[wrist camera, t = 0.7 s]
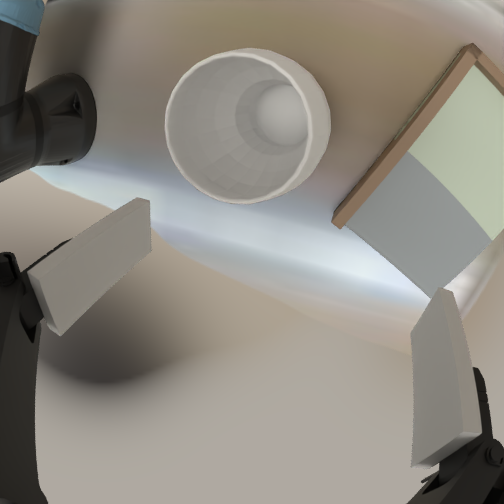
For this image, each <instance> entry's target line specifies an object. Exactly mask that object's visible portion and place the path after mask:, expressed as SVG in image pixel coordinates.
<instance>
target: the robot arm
mask: <svg viewBox="0 0 504 504" xmlns="http://www.w3.org/2000/svg"><path fill="white" fill-rule="evenodd" d="M43 13H44V3H43V1H42V0H0V183H1V182H3V181H5V180H7V179H9V178H11V177H13V176H15V175H17V174H19V173H21V172H23V171H25V170H28V169H30V168H32V167H35V166H44V165H67V164H70V163H73V162H75V161H78V160H80V159H81V158H82V157H84V156H85V154H86V153H87V152H88V150H89V148H90V146H91V144H92V141H93V138H94V134H95V128H96V109H95V103H94V99H93V96H92V93H91V90H90V88H89V86H88V85H87V83H86V82H85V81H84V80H83V79H82V78H81V77H80V76H78V75H76V74H72V73H68V74H61V75H56V76H53V77H52V78H50V79H48V80H46V81H44V82H43V83H41V84H39V85H37V86H36V87H34V88H32V89H31V90H29V91H27V92H25V87H26V81H27V76H28V71H29V67H30V62H31V58H32V54H33V50H34V46H35V42H36V38H37V36H39V33H40V32H39V28H40V24H41V20H42V16H43ZM151 251H152V250H151V228H150V201H149V200H145V199H141V198H135V199H134V200H132V201H130V202H129V203H127V204H125V205H124V206H122V207H120V208H119V209H117V210H116V211H114V212H112V213H111V214H109V215H108V216H106V217H105V218H103V219H101V220H100V221H98V222H97V223H95V224H94V225H92V226H91V227H89V228H88V229H86V230H85V231H83V232H82V233H80V234H79V235H77V236H76V237H74V238H72V239H69V240H67V241H64V242H62V243H61V244H59V245H58V246H57V247H55V248H54V250H51V251H49V252H48V253H47V255H44V256H42V257H41V258H40V259H38V260H37V261H36V262H34V263H33V264H32V265H30V266H29V267H28V268H26V269H25V270H24V271H23V272H20V270H19V267H18V264H17V261H16V257H15V255H14V254H13V253H11V252H3V253H0V504H48V502H47V499H46V497H45V495H44V494H43V492H42V491H41V489H40V486H39V481H38V472H37V461H36V446H35V388H36V387H35V386H36V372H37V361H38V351H39V342H40V335H41V323H40V320H41V319H42V318H43V317H44V318H45V320H46V323H47V325H48V327H49V328H50V329H51V330H53V331H54V332H55V333H57V334H58V335H60V336H61V335H62V334H63V333H64V332H65V331H66V330H67V329H68V328H69V327H70V326H71V325H72V324H73V323H74V322H75V321H76V320H77V319H78V318H79V317H80V316H81V315H82V314H83V313H84V312H85V311H87V310H88V308H90V307H91V306H92V305H93V304H94V303H95V302H96V301H97V300H98V299H99V298H100V297H101V296H102V295H103V294H104V293H105V292H106V291H108V290H109V289H110V288H111V287H112V286H113V285H114V284H115V283H116V282H117V281H118V280H119V279H121V278H122V277H123V276H124V275H125V274H126V273H127V272H128V271H129V270H130V269H132V268H133V267H134V266H135V265H136V264H137V263H138V262H139V261H140V260H142V259H143V258H144V257H145V256H146V255H147V254H148V253H149V252H151ZM411 345H412V361H413V387H414V419H413V445H412V446H413V447H412V460H411V468H423V469H429V468H431V467H433V466H434V465H436V464H438V463H439V471H437V472H436V473H434V474H432V475H430V476H428V477H427V478H425V479H423V480H422V481H421V483H424V482H426V481H428V482H427V483H426V484H425V485H424V486H423V487H422V488H421V489H420V490H419V491H418V493H417V494H416V495H415V496H414V497H413V498H412V499H411V500H410V501H409V502H408V503H407V504H504V448H503V446H502V444H501V443H500V442H499V441H497V440H496V439H493V434H492V425H491V417H490V410H489V404H488V403H487V402H488V398H487V394H486V386H485V381H484V378H483V376H482V374H481V373H480V371H479V369H478V368H475V367H472V362H471V358H470V354H469V349H468V345H467V340H466V336H465V333H464V329H463V325H462V321H461V318H460V314H459V311H458V307H457V304H456V301H455V298H454V295H453V292H452V291H449V290H446V289H443V288H440V287H438V288H437V290H436V292H435V294H434V296H433V297H432V299H431V301H430V302H429V304H428V306H427V308H426V309H425V311H424V312H423V314H422V316H421V317H420V319H419V321H418V322H417V324H416V325H415V327H414V328H413V330H412V332H411Z"/></svg>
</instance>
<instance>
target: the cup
mask: <svg viewBox="0 0 504 504" xmlns="http://www.w3.org/2000/svg"><path fill="white" fill-rule="evenodd" d="M164 128H165V135H166V141H167V146H168V149H169V152H170V154H171V157H172V159H173V162H174V163H175V165H176V166H177V168H178V169H179V171H180V172H181V174H182V175H183V176H184V178H185V179H186V180H188V181H189V182H190V183H191V184H192V185H193V186H194V187H195V188H196V189H197V190H199V191H201V192H203V193H204V194H206V195H208V196H210V197H211V198H213V199H216V200H220V201H223V202H227V203H230V204H253V203H257V202H261V201H266V200H269V199H272V198H275V197H278V196H281V195H283V194H285V193H287V192H289V191H291V190H293V189H294V188H296V187H298V186H299V185H300V184H301V183H303V182H304V181H305V180H306V179H307V178H308V177H309V176H310V175H311V174H312V173H313V172H314V170H315V168H316V167H317V165H318V163H319V161H320V160H321V158H322V156H323V154H324V153H325V151H326V149H327V145H328V141H329V137H330V132H331V118H330V109H329V106H328V103H327V100H326V97H325V94H324V91H323V90H322V88H321V87H320V85H319V84H318V83H317V81H316V80H315V78H314V77H313V76H312V74H310V73H309V72H308V71H307V70H306V69H304V68H303V67H302V66H301V65H299V64H298V63H297V62H295V61H293V60H292V59H290V58H287V57H285V56H283V55H280V54H278V53H275V52H273V51H270V50H264V49H256V48H244V49H237V50H232V51H227V52H223V53H219V54H215V55H213V56H211V57H209V58H206V59H204V60H202V61H200V62H198V63H197V64H195V65H194V66H193V67H192V68H191V69H190V70H188V71H187V72H186V73H185V74H184V75H183V76H182V77H181V79H180V80H179V82H178V83H177V85H176V86H175V88H174V89H173V91H172V93H171V96H170V99H169V102H168V105H167V108H166V114H165V127H164Z"/></svg>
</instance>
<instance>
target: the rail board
mask: <svg viewBox="0 0 504 504" xmlns="http://www.w3.org/2000/svg"><path fill="white" fill-rule="evenodd" d="M331 223H333V224H334V225H335V226H337V227H338V228H339V229H341V228H342V227H343V226H344V225H345V226H347V227H348V228H349V229H350V230H352V231H353V232H354V233H355V234H357V235H358V236H359V237H360V238H362V239H363V240H364V241H365V242H366V243H368V244H369V245H370V246H371V247H372V248H374V249H375V250H376V251H377V252H378V253H380V254H381V255H382V256H383V257H384V258H386V259H387V260H388V261H389V262H390V263H391V264H393V265H394V266H395V267H396V268H397V269H398V270H399V271H401V272H402V273H403V274H404V275H405V276H406V277H407V278H409V279H410V280H411V281H412V282H413V283H414V284H415V285H416V286H417V287H419V288H420V289H421V290H422V291H423V292H424V293H425V294H426V295H427V296H428V297H429V298H432V297H433V296H434V294H435V292H436V290H437V288H438V287H440V288H444V287H445V286H446V285H447V284H448V283H449V282H450V281H452V280H453V279H454V278H455V277H456V276H457V275H458V274H459V273H460V272H461V271H462V270H463V269H465V268H466V267H467V266H468V265H469V264H470V263H471V262H472V261H473V260H474V259H475V258H476V257H477V256H478V255H479V254H480V253H481V252H482V251H483V250H484V249H485V248H486V247H487V246H488V245H489V244H490V243H491V242H492V240H493V239H494V238H495V237H496V236H497V235H498V234H499V233H500V232H501V231H502V230H503V229H504V74H503V73H502V72H501V71H500V70H499V69H498V68H497V67H496V65H495V64H494V63H493V62H492V61H491V60H490V59H489V58H488V57H487V56H486V55H485V54H484V53H483V52H482V51H481V50H480V49H479V48H478V47H477V46H476V45H475V44H474V43H471V44H469V45H466V46H464V47H463V48H462V49H461V51H460V52H459V54H458V55H457V56H456V58H455V59H454V60H453V62H452V63H451V65H450V66H449V67H448V69H447V70H446V71H445V73H444V74H443V75H442V77H441V78H440V79H439V81H438V82H437V83H436V85H435V86H434V87H433V89H432V90H431V91H430V93H429V94H428V95H427V97H426V98H425V99H424V101H423V102H422V103H421V105H420V106H419V107H418V108H417V110H416V111H415V112H414V114H413V115H412V116H411V117H410V119H409V120H408V121H407V123H406V124H405V125H404V126H403V128H402V129H401V130H400V132H399V133H398V134H397V135H396V137H395V138H394V139H393V140H392V142H391V143H390V144H389V145H388V147H387V148H386V149H385V150H384V152H383V153H382V154H381V155H380V157H379V158H378V159H377V160H376V162H375V163H374V164H373V165H372V166H371V168H370V169H369V170H368V171H367V173H366V174H365V175H364V176H363V177H362V179H361V180H360V181H359V182H358V184H357V185H356V186H355V187H354V188H353V190H352V191H351V192H350V193H349V194H348V196H347V197H346V198H345V199H344V200H343V202H342V203H341V204H340V205H339V206H338V208H337V209H336V210H335V211H334V214H333V217H332V221H331Z"/></svg>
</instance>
